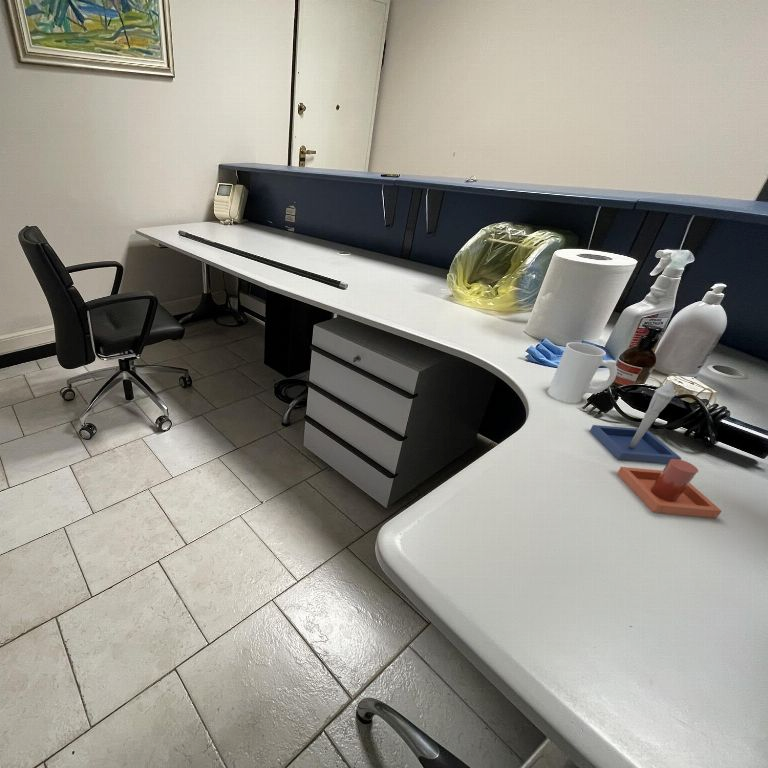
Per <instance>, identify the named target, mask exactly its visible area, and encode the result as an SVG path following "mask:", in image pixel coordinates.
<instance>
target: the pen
mask: <svg viewBox="0 0 768 768" xmlns="http://www.w3.org/2000/svg"><path fill="white" fill-rule="evenodd" d="M675 396H676V394H675V387H674V383H673V381H669V382H667V383H665V384H663V385H661V386H660V387H657V388H656V389H655V391H654V393H653V396H652V397H651V399H650V402H649V406H648V408H647V410H646V411H645V413H644V415H643V417H642V419H641V422H640V424H639V426H638V430H637V432H636V434H635V436H634V437H633V439H632V441H631V443H630V446H629V447H630V448H632V449H634V448H635V447H636V446H637V444H638V443H639V441H640V440H641V438H642V437H643V435H644V434H645V433H646V431H647V430H648V431H649V428H650V427H651V426H652V425H653V423H654V422H655V421H656V419H657V418H658V417H659V415H660V413H661V412H662V411H663V410H664V409H665V408H666V407H667V406H668V404H670V402H671V401H672V399H673V398H674V397H675Z"/></svg>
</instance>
